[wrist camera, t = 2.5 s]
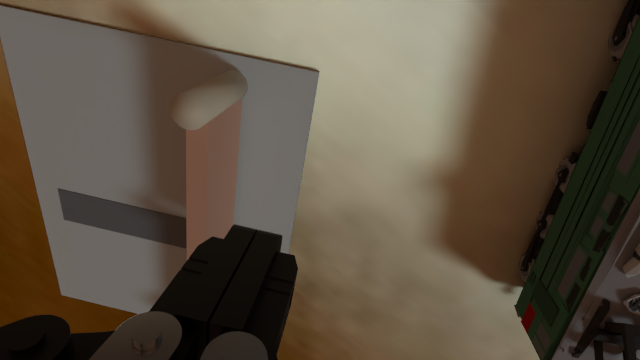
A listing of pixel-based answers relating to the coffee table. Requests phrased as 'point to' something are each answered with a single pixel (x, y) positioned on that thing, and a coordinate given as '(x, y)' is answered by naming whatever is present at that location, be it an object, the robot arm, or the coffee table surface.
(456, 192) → the coffee table surface
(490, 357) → the coffee table surface
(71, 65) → the card
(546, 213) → the toy train
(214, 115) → the panel
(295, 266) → the robot arm
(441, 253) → the coffee table surface
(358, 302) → the coffee table surface
